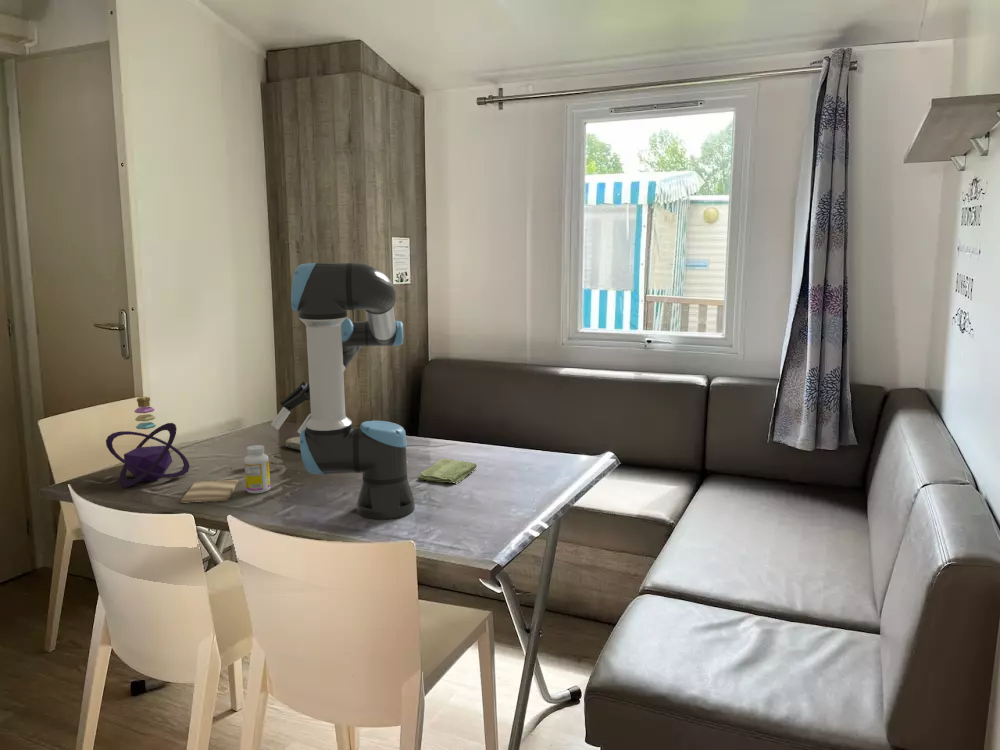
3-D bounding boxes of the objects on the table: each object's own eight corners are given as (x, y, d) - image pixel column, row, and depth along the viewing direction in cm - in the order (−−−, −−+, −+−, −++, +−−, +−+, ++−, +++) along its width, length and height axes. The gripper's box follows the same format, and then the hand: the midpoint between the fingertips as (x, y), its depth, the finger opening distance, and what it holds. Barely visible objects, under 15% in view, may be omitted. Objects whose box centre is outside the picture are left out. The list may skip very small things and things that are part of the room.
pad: (227, 501, 202) (227, 497, 202) (181, 503, 200) (180, 500, 200) (238, 482, 217) (238, 479, 217) (195, 485, 215) (195, 481, 215)
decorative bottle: (100, 478, 222) (92, 397, 218) (171, 463, 237) (164, 387, 233) (127, 495, 207) (118, 408, 202) (200, 478, 221) (194, 397, 217)
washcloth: (415, 482, 219) (415, 471, 218) (442, 465, 235) (442, 456, 234) (455, 487, 214) (455, 476, 213) (480, 470, 230) (480, 460, 229)
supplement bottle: (262, 485, 215) (259, 442, 213) (275, 489, 211) (272, 446, 209) (241, 491, 210) (238, 447, 208) (254, 495, 206) (251, 451, 204)
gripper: (360, 385, 219) (320, 445, 210) (311, 376, 235) (272, 431, 226) (345, 370, 214) (303, 430, 205) (295, 362, 230) (255, 417, 222)
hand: (287, 431), depth 216 cm, fingers open, 13 cm apart
